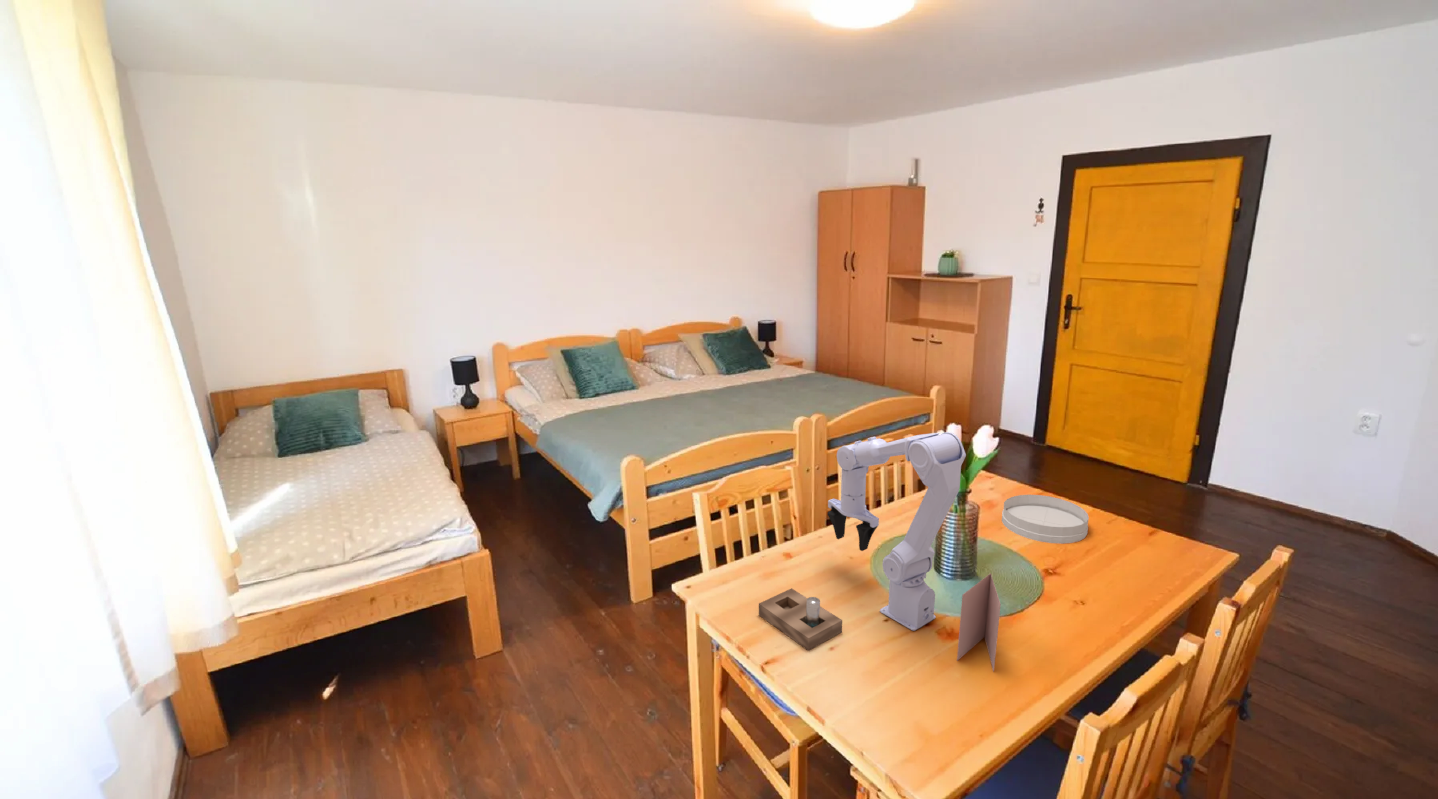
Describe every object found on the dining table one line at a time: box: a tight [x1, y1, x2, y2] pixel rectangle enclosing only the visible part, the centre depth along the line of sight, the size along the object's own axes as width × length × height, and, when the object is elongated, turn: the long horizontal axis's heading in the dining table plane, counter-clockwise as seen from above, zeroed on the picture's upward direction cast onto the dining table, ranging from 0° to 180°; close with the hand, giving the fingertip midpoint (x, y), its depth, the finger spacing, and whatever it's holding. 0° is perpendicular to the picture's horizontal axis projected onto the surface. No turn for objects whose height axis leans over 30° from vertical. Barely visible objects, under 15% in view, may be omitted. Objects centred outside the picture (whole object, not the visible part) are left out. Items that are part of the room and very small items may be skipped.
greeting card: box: [956, 573, 1001, 673], centre depth 128 cm, size 11×7×15 cm, turn 131°
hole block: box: [758, 588, 843, 651], centre depth 141 cm, size 16×10×3 cm, turn 36°
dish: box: [1001, 494, 1089, 544], centre depth 183 cm, size 22×22×5 cm
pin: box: [806, 596, 821, 628], centre depth 138 cm, size 3×3×7 cm
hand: (851, 543), depth 157 cm, fingers open, 7 cm apart
